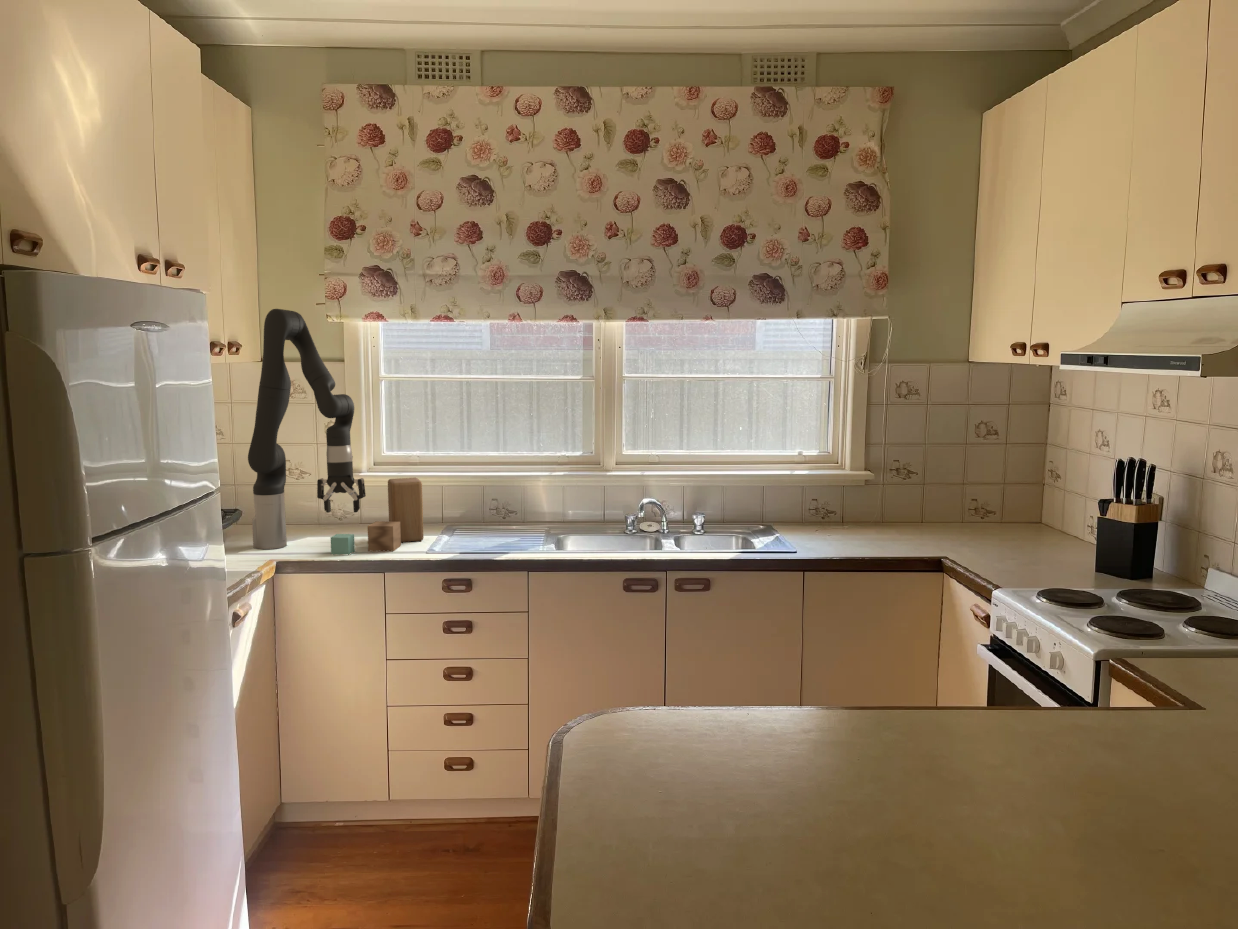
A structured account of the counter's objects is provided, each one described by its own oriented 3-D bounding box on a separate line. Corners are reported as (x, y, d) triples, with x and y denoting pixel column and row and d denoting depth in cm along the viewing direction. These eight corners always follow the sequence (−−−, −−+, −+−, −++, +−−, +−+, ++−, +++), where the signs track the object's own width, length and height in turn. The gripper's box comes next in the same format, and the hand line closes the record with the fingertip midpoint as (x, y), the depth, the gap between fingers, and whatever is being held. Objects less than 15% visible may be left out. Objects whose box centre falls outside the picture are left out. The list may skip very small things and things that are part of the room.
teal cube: (331, 555, 283) (330, 537, 282) (337, 551, 288) (336, 534, 287) (348, 555, 282) (348, 537, 282) (354, 551, 288) (354, 534, 287)
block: (389, 537, 308) (387, 478, 306) (419, 535, 312) (417, 477, 309) (393, 543, 299) (391, 482, 297) (424, 541, 303) (422, 480, 300)
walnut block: (368, 551, 288) (367, 526, 287) (376, 546, 296) (375, 521, 295) (393, 551, 288) (392, 526, 287) (400, 546, 295) (400, 521, 294)
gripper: (312, 461, 278) (315, 514, 280) (358, 461, 278) (361, 514, 280) (321, 458, 286) (323, 510, 288) (366, 458, 285) (368, 509, 287)
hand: (342, 512), depth 284 cm, fingers open, 8 cm apart
